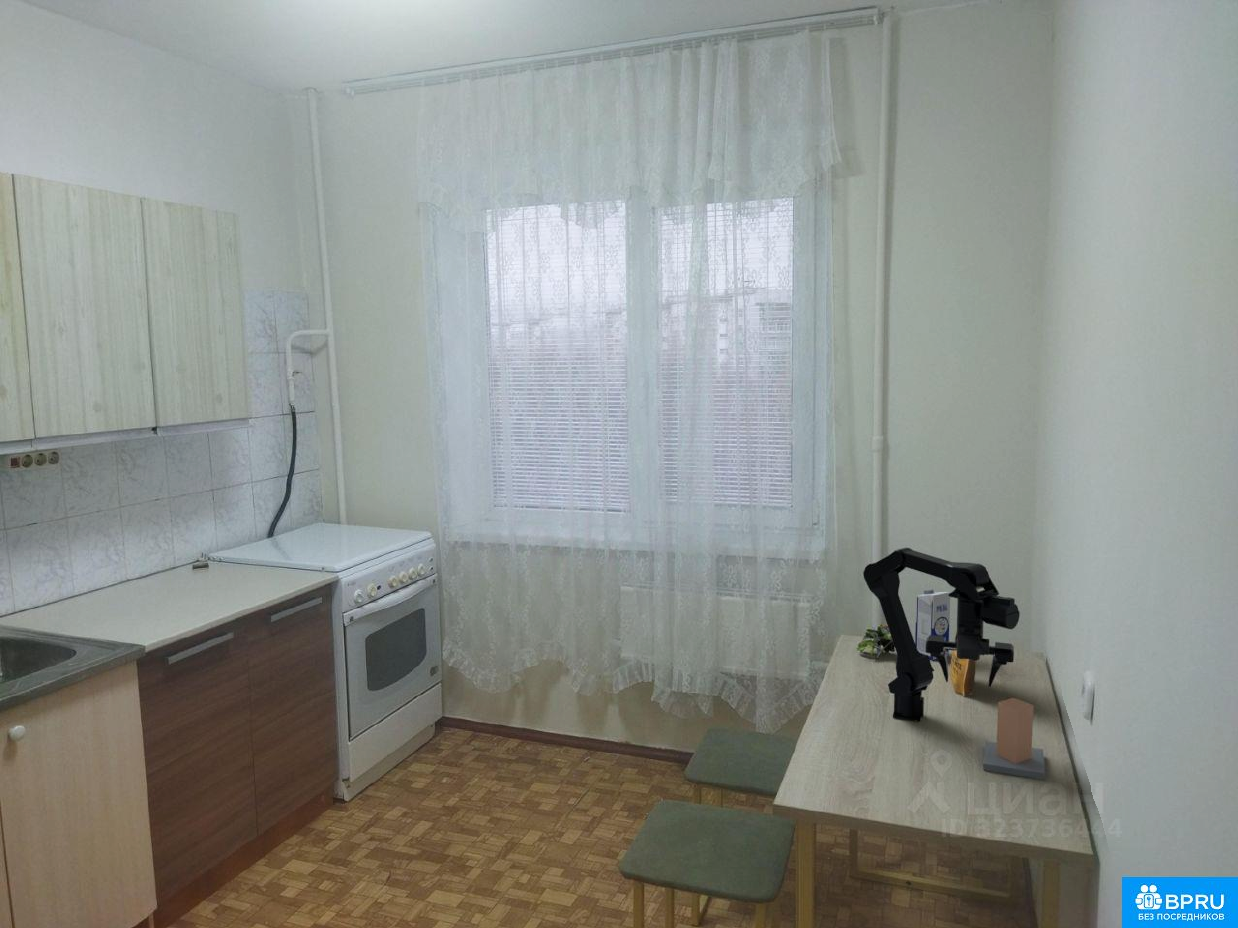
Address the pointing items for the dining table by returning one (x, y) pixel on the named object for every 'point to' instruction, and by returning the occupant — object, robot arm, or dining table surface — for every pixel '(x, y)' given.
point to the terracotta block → (1014, 730)
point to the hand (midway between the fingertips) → (968, 683)
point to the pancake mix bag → (962, 674)
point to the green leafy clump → (877, 640)
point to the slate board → (1024, 768)
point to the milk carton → (931, 618)
